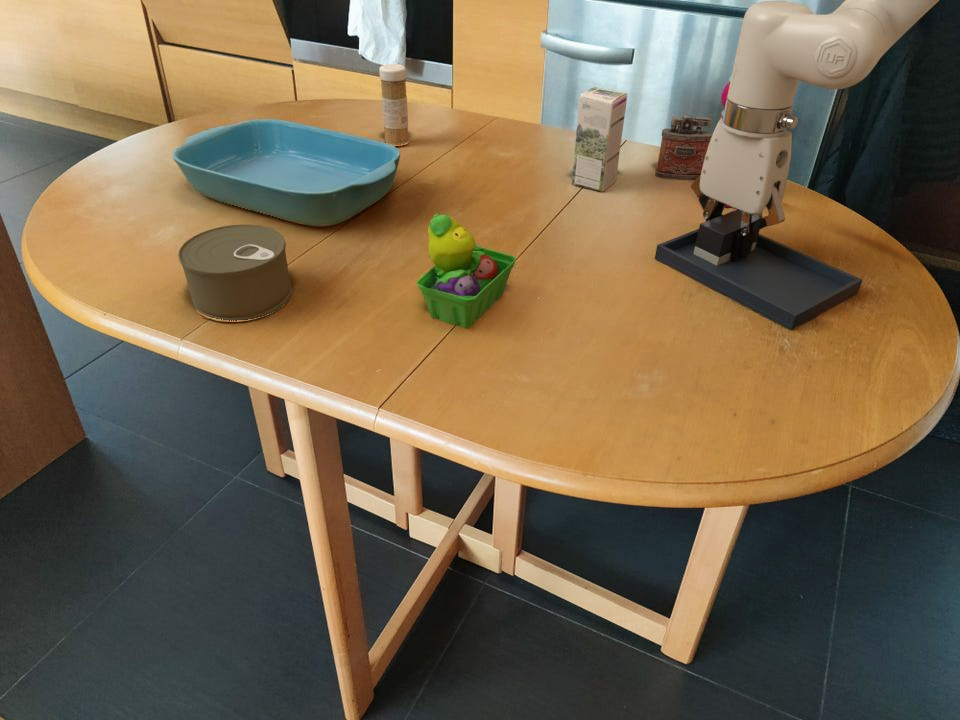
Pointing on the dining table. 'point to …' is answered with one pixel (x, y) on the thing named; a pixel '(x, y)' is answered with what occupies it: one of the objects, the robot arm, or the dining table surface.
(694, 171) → the lighter
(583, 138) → the syrup box
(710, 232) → the eraser
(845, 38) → the robot arm
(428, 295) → the fruit basket
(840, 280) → the tray
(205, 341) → the dining table surface
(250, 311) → the can
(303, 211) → the casserole dish
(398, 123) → the sprinkles bottle
